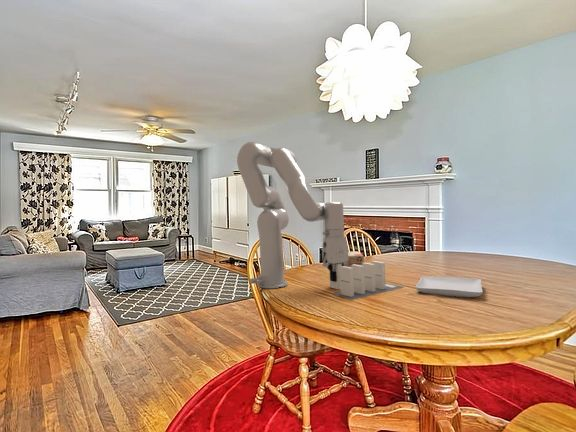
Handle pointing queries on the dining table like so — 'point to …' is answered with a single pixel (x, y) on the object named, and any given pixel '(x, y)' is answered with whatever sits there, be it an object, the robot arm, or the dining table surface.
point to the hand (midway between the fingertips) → (335, 280)
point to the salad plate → (450, 286)
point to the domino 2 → (347, 281)
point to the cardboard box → (354, 259)
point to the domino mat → (368, 293)
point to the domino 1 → (338, 283)
